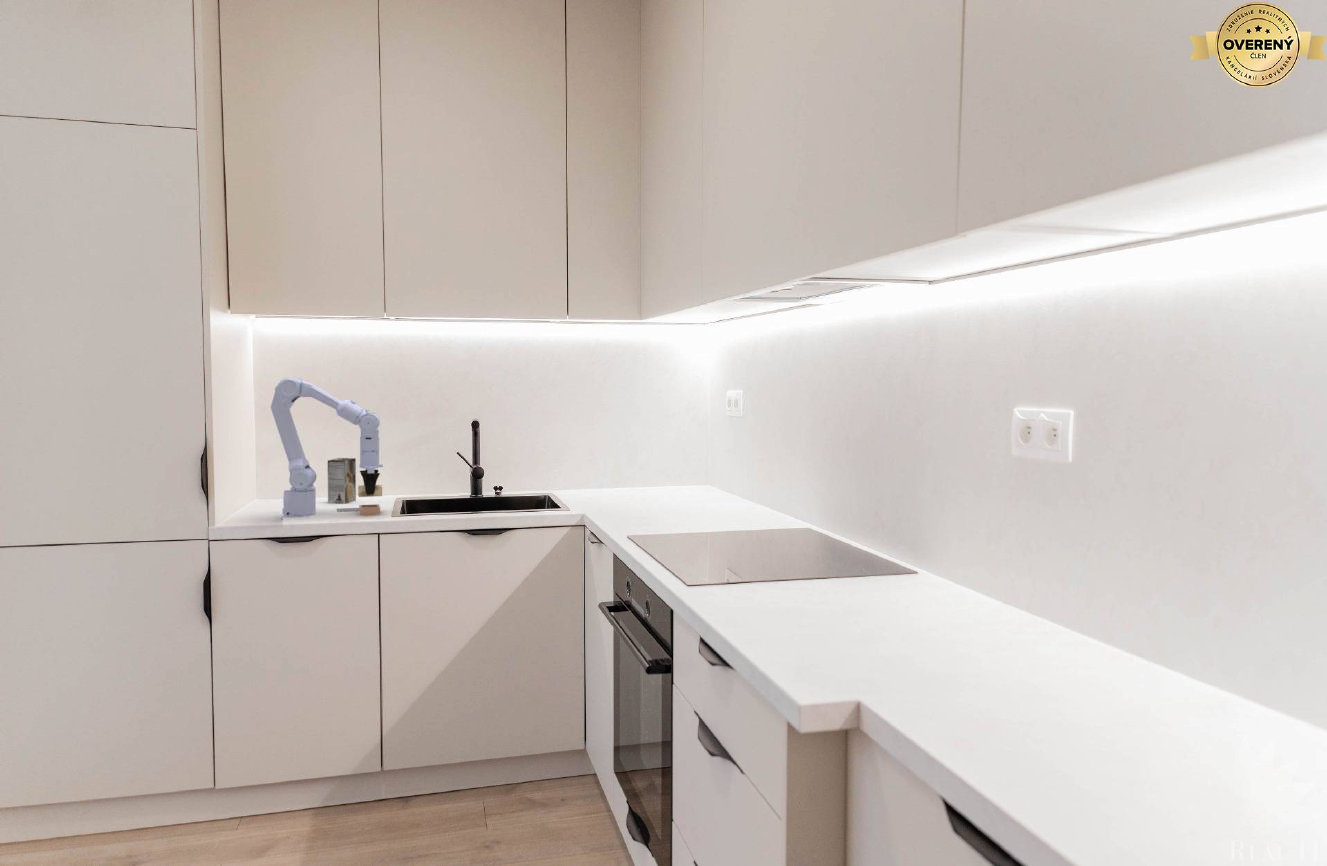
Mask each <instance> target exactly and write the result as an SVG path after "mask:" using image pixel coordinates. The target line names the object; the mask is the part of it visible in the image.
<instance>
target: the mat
mask: <svg viewBox="0 0 1327 866" xmlns="http://www.w3.org/2000/svg"><path fill="white" fill-rule="evenodd" d="M336 511H337V513H349V512H351V513H352V512H359V507H345V508H340V507H339V508H336Z"/></svg>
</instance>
